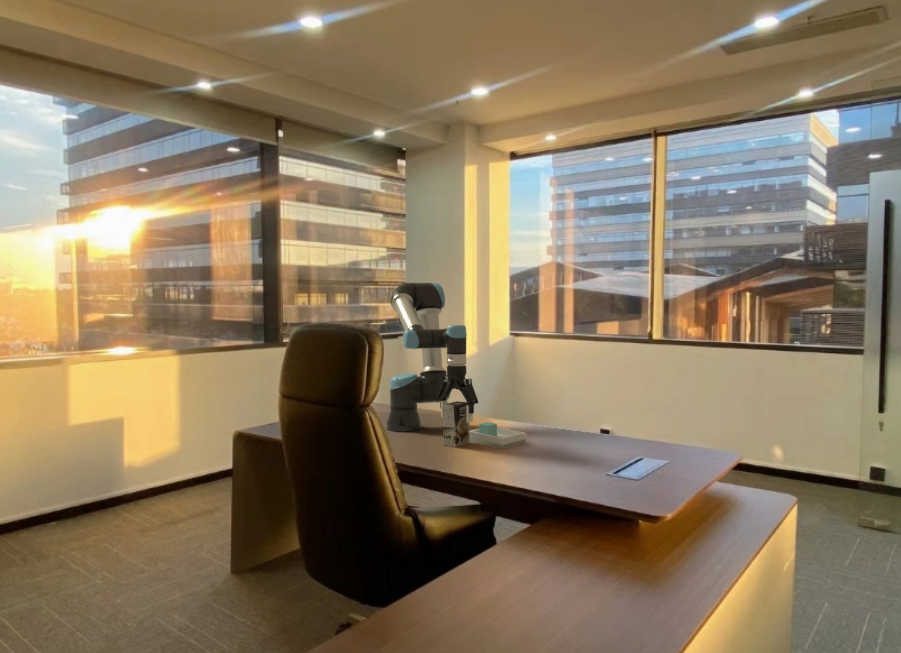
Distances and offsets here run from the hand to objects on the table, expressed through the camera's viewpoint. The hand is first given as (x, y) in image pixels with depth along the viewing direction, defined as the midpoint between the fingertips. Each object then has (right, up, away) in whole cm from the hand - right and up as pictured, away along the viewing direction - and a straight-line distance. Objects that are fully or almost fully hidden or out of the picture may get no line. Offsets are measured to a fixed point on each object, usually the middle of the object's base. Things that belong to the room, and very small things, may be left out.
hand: (456, 419), depth 242 cm
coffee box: (0, -10, +1) cm, 10 cm away
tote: (+16, -9, +4) cm, 19 cm away
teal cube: (+12, -8, +7) cm, 16 cm away
